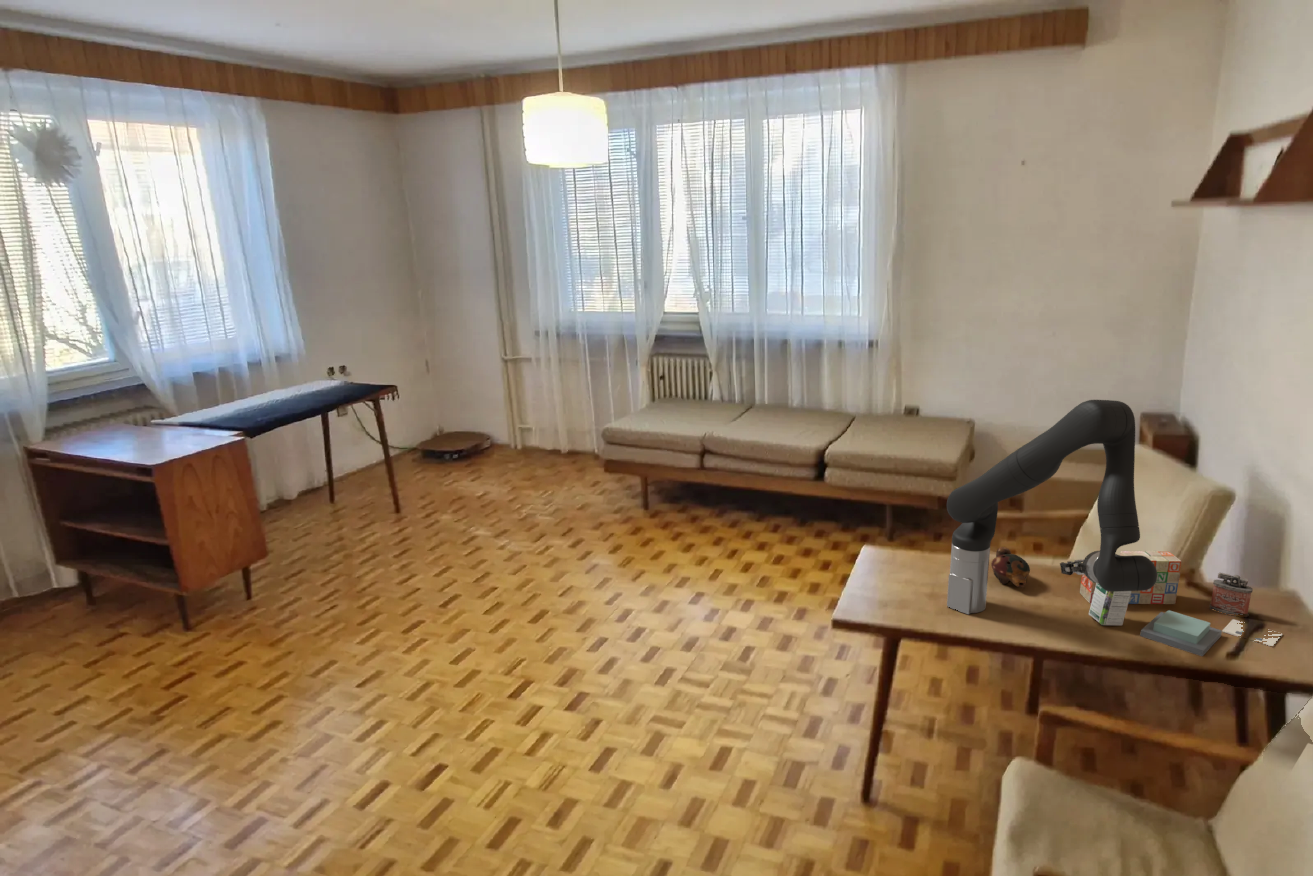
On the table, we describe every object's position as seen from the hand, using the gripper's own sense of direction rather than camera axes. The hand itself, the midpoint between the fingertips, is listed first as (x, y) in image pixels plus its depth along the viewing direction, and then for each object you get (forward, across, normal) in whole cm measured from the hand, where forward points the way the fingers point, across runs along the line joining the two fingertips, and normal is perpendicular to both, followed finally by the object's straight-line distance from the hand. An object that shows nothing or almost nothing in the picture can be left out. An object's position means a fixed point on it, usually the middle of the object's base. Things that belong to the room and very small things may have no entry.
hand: (1088, 564), depth 195 cm
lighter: (+19, -34, +17) cm, 42 cm away
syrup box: (+9, -3, +15) cm, 18 cm away
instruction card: (+10, -34, +20) cm, 41 cm away
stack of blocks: (+22, -12, +12) cm, 28 cm away
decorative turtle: (+26, +15, +5) cm, 31 cm away
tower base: (+5, -18, +19) cm, 27 cm away
